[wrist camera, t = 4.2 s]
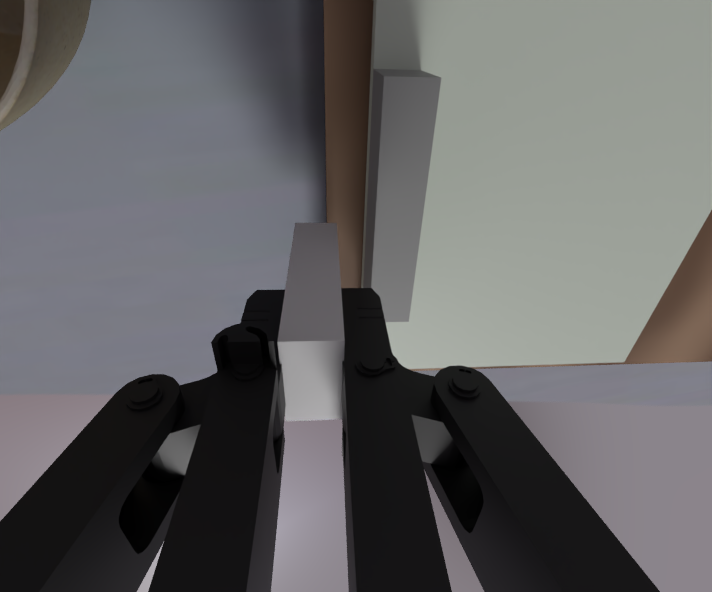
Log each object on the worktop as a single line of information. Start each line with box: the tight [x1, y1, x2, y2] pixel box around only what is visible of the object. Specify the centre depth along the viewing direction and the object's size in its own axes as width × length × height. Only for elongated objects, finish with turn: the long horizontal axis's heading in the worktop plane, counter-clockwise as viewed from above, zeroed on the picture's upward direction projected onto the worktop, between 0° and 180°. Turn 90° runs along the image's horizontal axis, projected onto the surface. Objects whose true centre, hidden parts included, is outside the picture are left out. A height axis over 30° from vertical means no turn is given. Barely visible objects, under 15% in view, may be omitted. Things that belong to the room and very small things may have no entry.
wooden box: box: [323, 0, 712, 371], centre depth 17 cm, size 31×20×2 cm, turn 88°
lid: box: [361, 0, 712, 369], centre depth 14 cm, size 14×18×3 cm
